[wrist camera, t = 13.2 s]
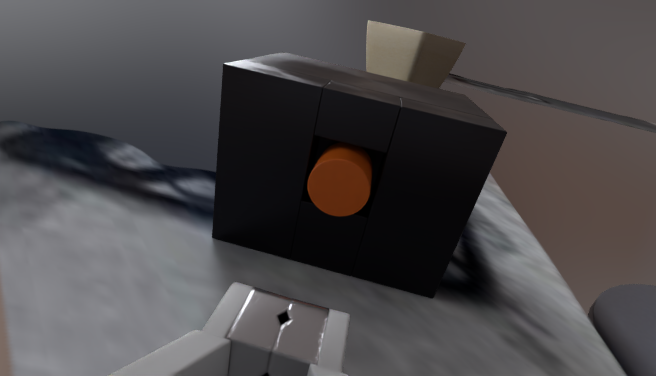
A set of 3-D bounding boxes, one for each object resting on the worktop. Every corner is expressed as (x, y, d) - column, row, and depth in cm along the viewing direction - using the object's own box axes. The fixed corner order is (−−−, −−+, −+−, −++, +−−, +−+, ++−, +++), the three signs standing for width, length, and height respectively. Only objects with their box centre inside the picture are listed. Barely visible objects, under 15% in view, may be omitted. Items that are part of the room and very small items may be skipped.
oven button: (365, 199, 23) (379, 149, 22) (361, 223, 20) (377, 168, 19) (313, 185, 23) (324, 135, 22) (302, 208, 20) (313, 152, 19)
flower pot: (394, 88, 108) (410, 30, 101) (445, 106, 96) (467, 42, 89) (351, 85, 96) (366, 19, 89) (403, 106, 84) (425, 32, 77)
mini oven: (430, 217, 34) (476, 97, 29) (447, 303, 23) (527, 136, 18) (266, 175, 35) (283, 52, 30) (211, 238, 25) (222, 63, 19)
